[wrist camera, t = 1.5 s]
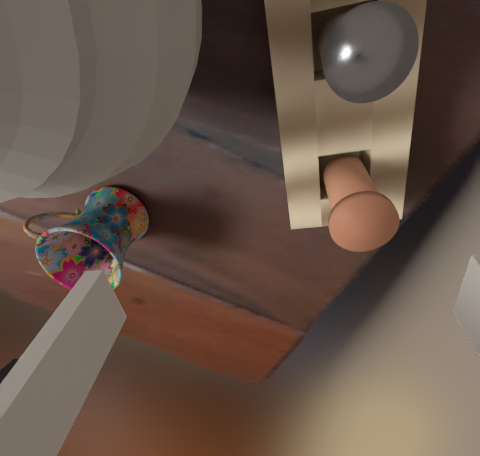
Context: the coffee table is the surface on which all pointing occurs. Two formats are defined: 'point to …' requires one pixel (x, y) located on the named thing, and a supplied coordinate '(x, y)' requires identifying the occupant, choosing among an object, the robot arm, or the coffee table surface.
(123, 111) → the vase
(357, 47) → the grey plug
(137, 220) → the mug
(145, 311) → the coffee table surface
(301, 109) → the block
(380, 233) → the terracotta plug
